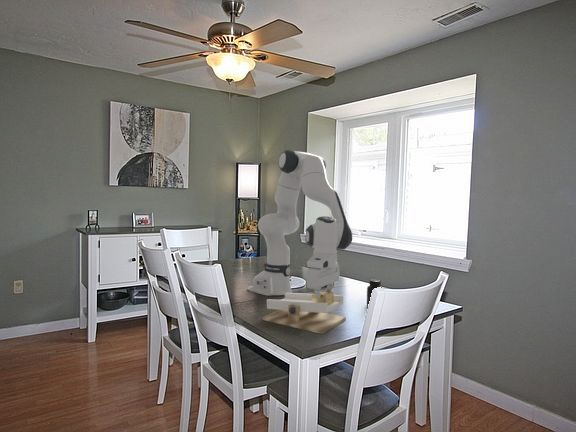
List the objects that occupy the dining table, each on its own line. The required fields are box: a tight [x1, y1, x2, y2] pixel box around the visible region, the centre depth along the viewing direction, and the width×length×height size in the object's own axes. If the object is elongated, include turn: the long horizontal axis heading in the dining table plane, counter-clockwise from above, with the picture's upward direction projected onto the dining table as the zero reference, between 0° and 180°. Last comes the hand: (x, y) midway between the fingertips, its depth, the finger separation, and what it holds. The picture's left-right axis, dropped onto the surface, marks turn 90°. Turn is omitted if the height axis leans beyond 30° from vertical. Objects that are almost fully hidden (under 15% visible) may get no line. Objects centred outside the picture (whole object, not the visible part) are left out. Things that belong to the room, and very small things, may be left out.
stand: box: [261, 304, 347, 335], centre depth 155 cm, size 26×20×8 cm
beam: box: [266, 292, 344, 314], centre depth 155 cm, size 26×14×4 cm, turn 58°
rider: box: [311, 290, 334, 305], centre depth 151 cm, size 6×6×4 cm
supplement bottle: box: [366, 278, 383, 308], centre depth 175 cm, size 7×7×12 cm
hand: (323, 296), depth 151 cm, fingers open, 7 cm apart
